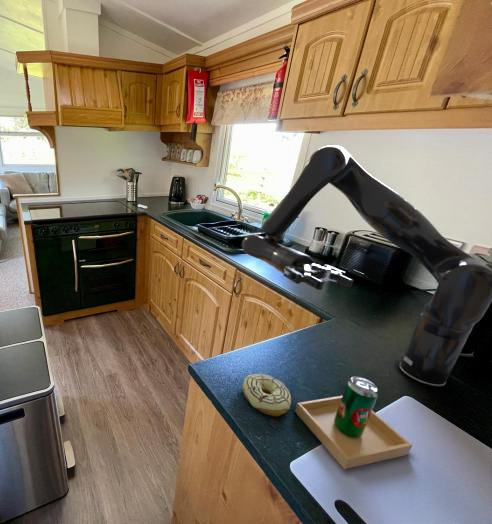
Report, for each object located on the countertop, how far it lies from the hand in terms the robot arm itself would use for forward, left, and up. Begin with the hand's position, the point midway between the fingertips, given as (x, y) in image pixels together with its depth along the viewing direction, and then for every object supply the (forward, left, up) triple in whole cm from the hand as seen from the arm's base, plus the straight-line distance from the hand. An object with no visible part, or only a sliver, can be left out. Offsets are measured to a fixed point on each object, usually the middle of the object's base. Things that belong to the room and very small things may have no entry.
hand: (336, 285), depth 69 cm
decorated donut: (+18, +6, -26) cm, 33 cm away
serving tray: (+6, +17, -26) cm, 32 cm away
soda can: (+6, +17, -26) cm, 31 cm away
